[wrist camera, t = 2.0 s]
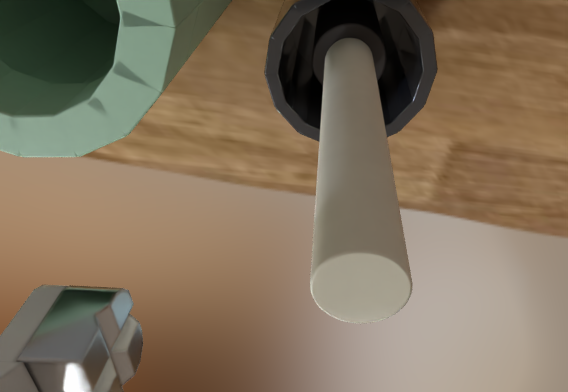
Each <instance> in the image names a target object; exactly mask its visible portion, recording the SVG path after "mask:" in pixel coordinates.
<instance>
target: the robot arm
mask: <svg viewBox="0 0 568 392" xmlns="http://www.w3.org/2000/svg"><path fill="white" fill-rule="evenodd" d="M132 306H133V301H132V298H131V296H130V293H129V290H126V289H123V288H107V287H88V286H58V285H41V286H40V287H38V288H36V289H34V291H33V292H32V293H31V295H30V296H29V297H28V299H27V300H26V301H25V303H24V304H23V306H22V307H21V308H20V310H19V311H18V313H17V314H16V315H15V317H14V318H13V319H12V321H11V322H10V323H9V325H8V326H7V328H6V329H5V330H4V332H3V333H2V334H1V336H0V392H124V391H123V389H122V385H123V384H125V383H126V382H127V381H128V380H129V379H131V378H132V377H133V376H134V375H135V373H136V371H137V368H138V365H139V363H140V359H141V353H142V346H143V338H142V330H141V326H140V323H139V321H137V320H136V319H135V318H134V317H133V316H132V315H130V314H129V313H130V310H131V309H132Z"/></svg>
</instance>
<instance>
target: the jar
mask: <svg viewBox="0 0 568 392" xmlns="http://www.w3.org/2000/svg"><path fill="white" fill-rule="evenodd" d="M231 1H232V0H0V150H1V151H4V152H7V153H10V154H13V155H16V156H22V157H77V156H79V157H80V156H83V155H85V154H87V153H90V152H92V151H94V150H96V149H99V148H101V147H103V146H105V145H108V144H110V143H112V142H115V141H117V140H119V139H121V138H124V137H126V136H127V135H129V134H130V133H131V131H132V130H133V129H134V128H135V126H136V125H137V124H138V123H139V121H140V120H141V119H142V118H143V116H144V115H145V114H146V113H147V111H148V110H149V109H150V108H151V106H152V105H153V104H154V103H155V102H156V100H157V99H158V98H159V97H160V95H161V94H162V93H163V91H164V90H165V89H166V87H167V86H168V85H169V83H170V82H171V81H172V79H173V78H174V77H175V75H176V74H177V73H178V71H179V70H180V69H181V67H182V66H183V65H184V63H185V62H186V61H187V59H188V58H189V57H190V55H191V54H192V53H193V51H194V50H195V49H196V47H197V46H198V45H199V43H200V42H201V41H202V39H203V38H204V37H205V35H206V34H207V33H208V32H209V30H210V29H211V28H212V26H213V25H214V24H215V22H216V21H217V20H218V18H219V17H220V16H221V14H222V13H223V12H224V10H225V9H226V8H227V6H228V5H229V4H230V2H231Z"/></svg>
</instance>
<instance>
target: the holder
mask: <svg viewBox="0 0 568 392" xmlns="http://www.w3.org/2000/svg"><path fill="white" fill-rule="evenodd" d="M329 1H331V0H284V2H283V5H282V7H281V10H280V12H279V15H278V18H277V20H276V23H275V26H274V28H273V31H272V33H271V36H270V39H269V45H268V52H267V59H266V65H265V72H264V73H265V78H266V81H267V84H268V88H269V91H270V94H271V97H272V100H273V103H274V106H275V107H276V110H277V111H278V112H279V113H280V114H281V115H282V116H283V117H284V118H285V119H286V120H287V121H288V122H289V123H290V124H291V125H292V127H293V128H294V129H295V130H296V131H297V132H298V133H300V134H302V135H304V136H307V137H309V138H312V139H314V140H316V141H320V126H321V111H322V96H323V86H322V85H321V83H320V82H319V81H318V80H317V78H316V76H315V74H314V71H313V68H312V52H313V45H314V37H315V29H316V22H317V17H318V14H319V12H320V10H321V8H322V7H323V5H324V4H325V3H327V2H329ZM368 1H369V2H370V3H371V4H372V5H373V7H374V9H375V11H376V14H377V17H378V21H379V25H380V29H381V33H382V38H383V42H384V46H385V50H386V65H385V69H384V71H383V74H382V75H381V77H380V79H379V80H378V81H377V84H378V89H379V95H380V101H381V107H382V112H383V118H384V124H385V130H386V135H387V137H389V136H391V135H393V134H396V133H398V131H401V129H402V128H403V127H404V126H405V125H406V124H407V123H408V122H409V121H410V120H411V119H412V118H413V117H414V116H415V115H416V114H417V113H418V112H419V111H420V110H421V109H422V108H423V107H424V105H425V104H426V101H427V98H428V95H429V93H430V90H431V87H432V84H433V82H434V79H435V76H436V73H437V69H438V68H437V60H436V52H435V44H434V36H433V32H432V29H431V28H430V26H429V24H428V22H427V20H426V18H425V17H424V15H423V13H422V11H421V9H420V8H419V6H418V4H417V2H416V0H368Z"/></svg>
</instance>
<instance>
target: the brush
mask: <svg viewBox="0 0 568 392" xmlns="http://www.w3.org/2000/svg"><path fill="white" fill-rule="evenodd" d="M385 65H386V50H385V46H384V42H383V38H382V33H381V29H380V25H379V21H378V17H377V14H376V11H375V9H374V7H373V5H372V4H371V3H370V2H369V1H368V0H331V1H329V2H327V3H325V4H324V5H323V7H322V8H321V10H320V12H319V14H318V17H317V22H316V29H315V37H314V45H313V52H312V68H313V71H314V74H315V76H316V78H317V80H318V81H319V82H320V83H321V85H322V86H323V96H322V111H321V126H320V141H319V157H318V172H317V187H316V202H315V217H314V232H313V247H312V262H311V278H310V290H311V294H312V297H313V298H314V301H315V302H316V303H317V305H318V306H319V307H320V308H321V309H322V310H323V311H324V312H326V313H327V314H329V315H330V316H332V317H334V318H337V319H339V320H342V321H346V322H352V323H371V322H377V321H380V320H384V319H386V318H389V317H390V316H392V315H394V314H396V313H397V312H398V311H400V310H401V309H402V308H403V307H404V306H405V305H406V303H407V301H408V300H409V298H410V295H411V292H412V279H411V273H410V267H409V262H408V255H407V250H406V244H405V238H404V234H403V227H402V221H401V215H400V210H399V204H398V198H397V192H396V187H395V181H394V175H393V170H392V164H391V158H390V152H389V147H388V141H387V135H386V130H385V124H384V118H383V112H382V107H381V101H380V95H379V89H378V84H377V81H378V80H379V79H380V77H381V75H382V74H383V71H384V69H385Z"/></svg>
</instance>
